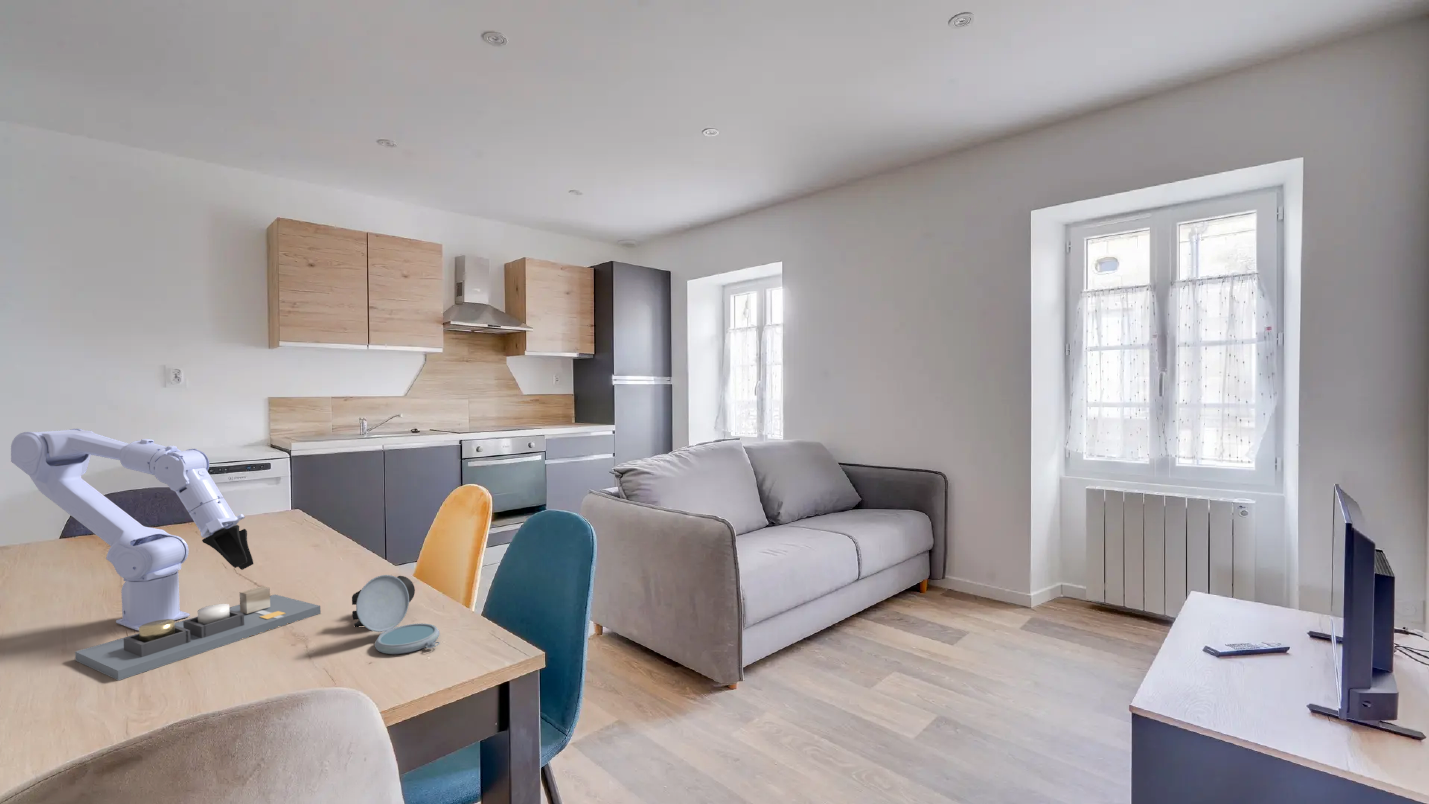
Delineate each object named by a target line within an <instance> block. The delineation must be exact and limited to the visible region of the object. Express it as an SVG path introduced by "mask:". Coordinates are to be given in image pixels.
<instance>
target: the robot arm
mask: <svg viewBox="0 0 1429 804" xmlns="http://www.w3.org/2000/svg"><path fill="white" fill-rule="evenodd" d="M91 456H95V457H101V458H104V459H105V458H106V459H111V460H118V461H120V465H121V466H122V467H123V468H124V469H127V470H131V471H136V472H139V473H144V474H147V475H151V476H154V477H155V478H156V479H157V481H159V482H160V483H163V484H166V485H167V487H169V489H170V491H173V492H175V493H176V496H177V497H178V498H179V500H180V502H181V503H182V505H183V506H184V508H185V509H186V511H187V513H188V514H189V516H190V518H191V519H192V520H193V521H192V522H194V524H195V526H196V527H197V529H198V530H199V532H200V536H201V538H203V539H202V540H201V542H202V543H203V544H205V545H207V546H209V547H211V548H212V549H213V550H215V551H216V552H217V553H218V554H220V555H221V556H222V557H223V558H224V560H226V562H227V563H228V564H229V565H230V566H231V567H233V568H234V569H236V568H238V569H240V570H241V571H243V570H245V569H247V568H249V567H250V566H252V565H254V560H253V556H252V554H251V550H250V548H249V544H248V531H247V529H246V528H243V529H241V530H240V525H238V523H239V522H240V521H241V520H244V519H245V517H246V516H245V515H244V513H240V514H238V515H237V516H236V515H235V513H234V512H233V510H232V508H231V507H230V505H229V503H228V502H227V500H226V499H225V497H224V496H223V494H222V493H221V490H219V487H218V486H217V484H216V483H215V481H214V479H213V477H212V476H211V474H210V473H209V472H208V471H209V469H210V460H209V457H208V455H207V454H206V453H205V452H203V451H201V450H199V449H197V448H189V449H186V450H181V449H178V446H176V445H167V446H165V445H162V444H159V443H155V440H154V439H152V438H142V439H140V440H134V441H132V442H129V443H128V442H126V441H125V442H124V441H122V440H119V439H115V438H111V437H108V436H106V435H105V436H104V435H102V434H99V433H95V432H94V431H93V430H86V429H85V430H84V429H81V428H71V429H70V428H69V429H62V430H61V429H60V430H48V431H47V430H45V431H22V432H20V433H18V434H17V435H16V436H14V437H13V439H12V442H11V444H10V462H11V463H12V464H13V465H14V466H16V467H17V468H19V469H20V470H21V471H23V472H24V473H25V474H27V476H29V477H30V479H31V481H32V482H33V484H34V485H35V487H36V488H37V489H38V491H39V492H40V493H41V494H42V495H44V496H45V497H46V498H47V499H49V500H50V501H51V502H53V503H54V504H55V505H57V506H58V507H59V508H61V509H62V510H63V511H64V512H65V513H67V514H68V515H70V516H71V517H72V518H74V519H75V520H76V521H77V522H79V524H81V525H83V526H84V527H85V528H87V529H88V530H89V531H91V532H92V533H93V534H94V535H95V536H97V537H98V538H100V539H101V540H102V541H103V542H104V543H106V544H107V545H109V546H110V548H109V549H108V551H107V554H106V558H105V559H106V560H107V561H108V562H110V563H111V564H112V566H113V568H114V570H115V572H116V574H118V576H119V577H120V578H122V579H123V582H124V583H123V585H122V587H121V591H120V592H121V612H122V618H119V619H116V620H115V623H116V624H118V625H121V626H124V627H126V628H129V629H132V630H135V631H139V627H140V626H142V625H144V624H146V623H149V622H153V621H157V620H164V619H173V620H174V621H177V620H180V619H185V618H188V617H190V616H191V614H190V613H188V612H185V611H182V610H181V607H180V581H179V579H180V578H179V576H180V575H179V571H180V570H182V565H183V564H184V563H185V561H187V559H188V556H189V554H190V553H189V552H190V550H189V545H188V543H187V542H186V540H185V539H184V538H182V537H181V536H180V535H179V536H178V535H175V534H170V533H169V532H167V531H166V530H164V529H161V528H155V527H149V526H144V525H142V524H141V523H140V522H139V521H137V520H136V519H135V518H133V517H132V516H131V515H129V513H127V512H126V511H125V510H123V509H122V508H120V507H119V506H118V505H116V503H114V502H113V501H112V500H110V499H109V498H108V497H107V496H105V495H103V494H102V493H101V492H100V491H99V490H97V489H96V488H95V487H94V486H92V485H91V484H89V483H88V482H87V481H85V480H84V478H82V476H83V475H85V474H86V473H87V471H88V466H89V464H90V459H91Z"/></svg>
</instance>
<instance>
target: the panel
mask: <svg viewBox="0 0 1429 804" xmlns="http://www.w3.org/2000/svg"><path fill="white" fill-rule="evenodd" d="M229 610H230V617H229V618H226V619H223V620H219V621H216V622H213V623H209V624H199V623H198V616H195V617H191V618H188V619H185V620H181V621H178V622H177V621H176V622H175V633H174V634H173V635H169V636H166V637H162V638H159V639H156V640H152V641H140V640H139V632H138V633H136V634H132V635H128V636H125V637H122V638H118V639H115V640H112V641H107V642H103V643H101V644H98V645H94V646H90V647H87V648H84V649H83V648H82V649H80V650H79V649H78V650H76V651H74V655H75V658H74V659H75V661H76V662H78V663H80V664H82V665H84V666H87V667H89V668H91V669H93V670H95V671H97V672H99V673H102V674H104V675H106V676H108V677H110V678H112V679H115V680H117V681H120V680H123V679H124V680H125V679H127V678H131V677H133V676H136V675H139V674H141V673H145V672H149V671H151V670H155V669H157V668H160V667H163V666H165V665H169V664H172V663H175V662H179V661H181V660H184V659H187V658H190V657H194V656H196V655H199V654H203V653H205V652H208V651H211V650H214V649H217V648H220V647H223V646H226V645H230V644H232V643H235V642H238V641H241V640H240V639H242V638H245V639H248V638H250V637H249V636H251V635H254V636H257V635H259V634H258V633H260V632H263V633H266V632H267V631H266V630H269V629H272V630H275V629H277V628H276V627H278V626H281V627H284V626H286V624H287V623H290V624H292V622H293V623H296V622H298V621H297V620H299V621H302V620H305V619H308V618H312V617H314V616H316V615H319V614H322V613H321V605H318V604H315V603H310V602H306V601H303V600H299V599H295V598H291V597H287V596H283V595H278V594H272V595H271V594H270V607H268V608H265V609H261V610H258V611H255V612H251V613H248V614H246V613H242V612H240V604H236V605H233V606H229ZM304 618H305V619H304ZM295 621H296V622H295ZM283 625H284V626H283ZM287 625H288V624H287ZM274 628H275V629H274ZM278 628H279V627H278ZM265 631H266V632H265ZM269 631H270V630H269ZM256 634H257V635H256ZM260 634H261V633H260ZM247 637H248V638H247ZM251 637H252V636H251ZM242 640H243V639H242ZM193 655H194V656H193Z"/></svg>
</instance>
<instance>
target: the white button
mask: <svg viewBox="0 0 1429 804" xmlns="http://www.w3.org/2000/svg"><path fill="white" fill-rule="evenodd" d="M229 607H230V604H229V603H218V604H213V605H208V606H207V605H206V606H205V607H204V606H203V607H202V608H199V609H198V610H197V617H198V623H199V624H209V623H213V622H216V621H219V620H223V619H226V618H229V617H230V610H229Z"/></svg>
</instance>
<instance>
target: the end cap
mask: <svg viewBox="0 0 1429 804" xmlns="http://www.w3.org/2000/svg"><path fill="white" fill-rule="evenodd" d="M396 577H397V578H399V579H400V580H401V581H402V582H403V583H404V584H405V586H406V588H407V590H408V594H409V603H410V602H411V601H412V600H413V599H414V596H415V593H416V589H415V584H414V583H413V581H412V580H411V579H409V578H408V577H406V576H404V575H398V576H396ZM361 590H362V589H359V591H356V592H355V593H353V594H352V596H351V605H354V606H356V603H357V598H358V595H359V593H360V591H361ZM351 615H352V616H351V617H352V620H353V621H356V622H354V623H353V626H355V627H354V628H360V627H359V626H364V625H363V624H362V623H361V622H360V620H359V618H358V616H357V611H356V610H353V611H352V613H351Z"/></svg>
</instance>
